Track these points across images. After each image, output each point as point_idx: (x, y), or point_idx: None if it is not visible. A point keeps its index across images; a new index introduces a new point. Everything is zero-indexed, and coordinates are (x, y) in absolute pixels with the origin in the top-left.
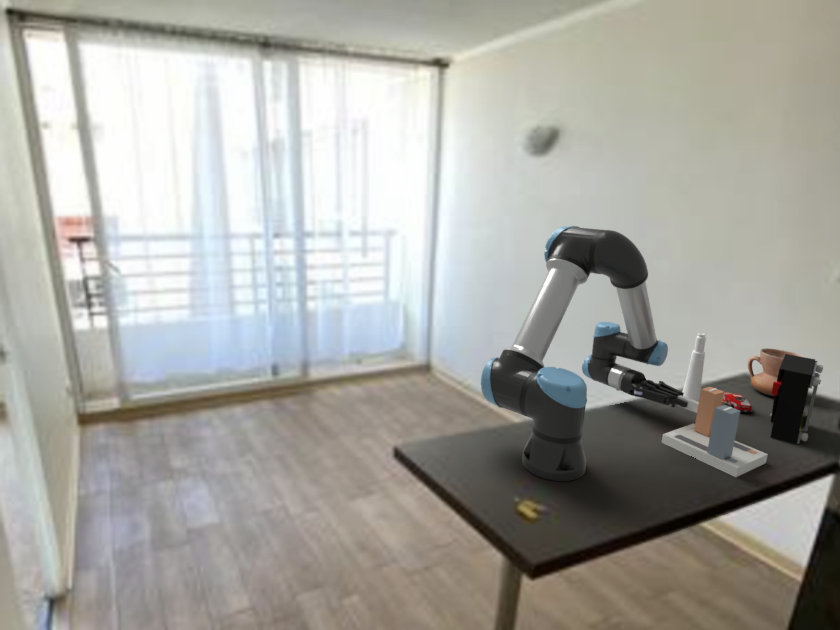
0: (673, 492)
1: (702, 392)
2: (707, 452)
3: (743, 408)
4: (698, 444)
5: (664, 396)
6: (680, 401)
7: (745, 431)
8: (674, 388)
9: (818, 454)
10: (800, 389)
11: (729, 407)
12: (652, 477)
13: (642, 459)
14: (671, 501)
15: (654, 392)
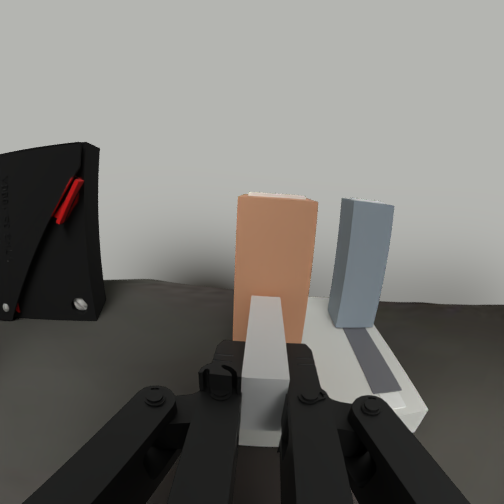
0: (470, 322)
1: (314, 216)
2: (372, 326)
3: None
4: (362, 348)
5: (400, 421)
6: (314, 365)
7: (89, 349)
8: (75, 459)
9: (130, 285)
10: (94, 183)
11: (357, 198)
12: (488, 344)
13: (492, 380)
14: (477, 315)
15: (442, 498)
